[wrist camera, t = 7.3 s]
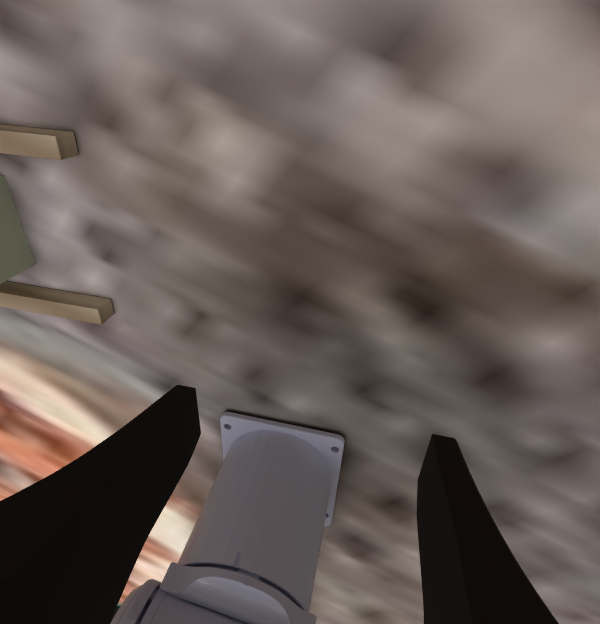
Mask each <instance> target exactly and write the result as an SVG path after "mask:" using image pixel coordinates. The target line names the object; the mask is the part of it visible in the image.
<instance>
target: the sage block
mask: <svg viewBox="0 0 600 624" xmlns="http://www.w3.org/2000/svg"><path fill="white" fill-rule="evenodd" d="M33 265H35V261H34V258H33V255H32V252H31V250H30V247H29V244H28V241H27V238H26V236H25V233H24V230H23V227H22V224H21V222H20V219H19V216H18V213H17V210H16V207H15V205H14V202H13V199H12V196H11V193H10V191H9V188H8V185H7V182H6V179H5V177H4V175H0V284H1V283H3V282H5V281H7V280H8V279H10V278H12V277H14V276H15V275H17V274H19V273H21V272H22V271H24V270H26V269H28V268H29V267H31V266H33Z"/></svg>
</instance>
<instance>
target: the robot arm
mask: <svg viewBox="0 0 600 624" xmlns="http://www.w3.org/2000/svg"><path fill="white" fill-rule="evenodd" d="M220 424H221V438H222V452H223V464H222V466H221V468H220V470H219V473H218V475H217V477H216V479H215V481H214V484H213V486H212V488H211V490H210V493H209V495H208V497H207V499H206V502H205V504H204V506H203V508H202V510H201V513H200V515H199V517H198V519H197V522H196V524H195V526H194V528H193V530H192V533H191V535H190V537H189V539H188V542H187V544H186V546H185V548H184V550H183V553H182V555H181V557H180V559H179V562H178V564H177V563H174V562H172V563H171V564H170V566H169V568H168V570H167V573H166V575H165V577H164V579H163V581H162V583H161V582H159V581H156V580H154V579H150V580H148V581H146V582H145V583H144V584H143V585H141V586H139V587H137V588H136V589H134V590H133V591H132V592H131V593H130V594H129V595H128V596H127V598H126V599H125V600H124V602H123V603H122V605H121V606H120V608H119V610H118V611H117V613H116V615H115V616H114V618H113V620H112V622H111V619H112V617H113V614H114V612H115V609H116V607H117V605H118V602H119V600H120V597H121V595H122V593H123V590H124V588H125V586H126V583H127V581H128V579H129V576H130V574H131V572H132V570H133V567H134V565H135V563H136V561H137V559H138V556H139V554H140V552H141V550H142V547H143V545H144V543H145V541H146V539H147V537H148V535H149V534H150V532H151V530H152V528H153V526H154V524H155V523H156V521H157V519H158V517H159V515H160V514H161V512H162V510H163V508H164V507H165V505H166V503H167V501H168V500H169V498H170V496H171V494H172V492H173V491H174V489H175V487H176V485H177V484H178V482H179V480H180V478H181V476H182V475H183V473H184V471H185V469H186V467H187V465H188V464H189V461H190V459H191V457H192V454H193V452H194V449H195V447H196V444H197V442H198V439H199V437H200V434H201V430H200V422H199V414H198V405H197V397H196V389H195V388H192V387H186V386H181V385H176V386H175V387H174V388H172V389H171V390H170V391H168V392H167V393H166V394H165V395H163V396H162V397H161V398H160V399H158V400H157V401H156V402H155V403H153V404H152V405H151V406H150V407H148V408H147V409H146V410H144V411H143V412H142V413H141V414H139V415H138V416H137V417H135V418H134V419H133V420H131V421H130V422H129V423H128V424H126V425H125V426H124V427H122V428H121V429H120V430H118V431H117V432H116V433H114V434H113V435H111V436H110V437H108V438H107V439H106V440H104V441H103V442H101V443H100V444H98V445H97V446H96V447H94V448H93V449H91V450H90V451H88V452H87V453H85V454H84V455H82V456H81V457H79V458H78V459H76V460H74V461H73V462H71V463H70V464H68V465H66V466H65V467H63V468H61V469H60V470H58V471H56V472H55V473H53V474H51V475H49V476H48V477H46V478H44V479H42V480H40V481H38V482H36V483H34V484H33V485H31V486H29V487H27V488H25V489H23V490H21V491H19V492H17V493H16V494H14V495H12V496H10V497H8V498H6V499H4V500H1V501H0V624H316V616H315V615H314V614H311V613H309V608H310V603H311V597H312V591H313V586H314V580H315V574H316V569H317V563H318V557H319V552H320V546H321V540H322V535H323V529H324V527H329V526H330V525H331V522H332V516H333V510H334V504H335V498H336V491H337V485H338V479H339V473H340V467H341V461H342V455H343V449H344V443H345V440H344V438H343V437H342V436H341V435H338V434H334V433H329V432H324V431H319V430H314V429H309V428H305V427H300V426H295V425H290V424H285V423H280V422H275V421H271V420H266V419H261V418H256V417H251V416H246V415H241V414H237V413H232V412H224V413H223V414H222V416H221V418H220ZM228 424H229V425H228ZM336 447H337V448H336ZM417 525H418V539H419V552H420V564H421V577H422V590H423V605H424V624H559V623H558V622H557V621H556V619H555V618H554V617H553V615H552V614H551V612H550V611H549V609H548V608H547V606H546V605H545V604H544V602H543V601H542V599H541V598H540V596H539V595H538V593H537V592H536V590H535V589H534V587H533V586H532V584H531V583H530V581H529V580H528V578H527V577H526V575H525V574H524V572H523V570H522V569H521V567H520V566H519V564H518V562H517V561H516V559H515V557H514V556H513V554H512V552H511V551H510V549H509V547H508V545H507V544H506V542H505V540H504V538H503V537H502V535H501V533H500V531H499V530H498V528H497V526H496V524H495V522H494V520H493V519H492V517H491V515H490V513H489V511H488V509H487V507H486V505H485V503H484V501H483V499H482V497H481V495H480V493H479V491H478V489H477V487H476V485H475V483H474V480H473V478H472V476H471V474H470V472H469V469H468V467H467V465H466V462H465V460H464V458H463V455H462V453H461V450H460V448H459V445H458V443H457V441H456V440H455V438H450V437H445V436H440V435H435V434H432V436H431V440H430V443H429V446H428V449H427V452H426V455H425V459H424V462H423V465H422V468H421V471H420V474H419V478H418V491H417ZM110 622H111V623H110Z"/></svg>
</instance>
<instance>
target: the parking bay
mask: <svg viewBox="0 0 600 624" xmlns="http://www.w3.org/2000/svg"><path fill="white" fill-rule="evenodd" d="M0 153H6V154H15V155H23V156H32V157H41V158H49V159H58V160H62V159H66V158H69V157H72V156H75V155H78V150H77V145H76V141H75V136H74V132H70V131H61V130H51V129H41V128H32V127H22V126H13V125H3V124H0ZM0 306H2V307H8V308H13V309H19V310H24V311H30V312H35V313H41V314H46V315H52V316H57V317H63V318H68V319H74V320H79V321H85V322H90V323H96V324H101V325H102V324H103V323H104V322H105V321H106V320H107V319H108V318H110V317H111V316H112V315H113V314H114V311H113V307H112V302H111V299H108V298H102V297H96V296H90V295H84V294H78V293H72V292H67V291H61V290H55V289H49V288H43V287H37V286H31V285H25V284H20V283H14V282H8V281H5V282H3V283H1V284H0Z"/></svg>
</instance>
